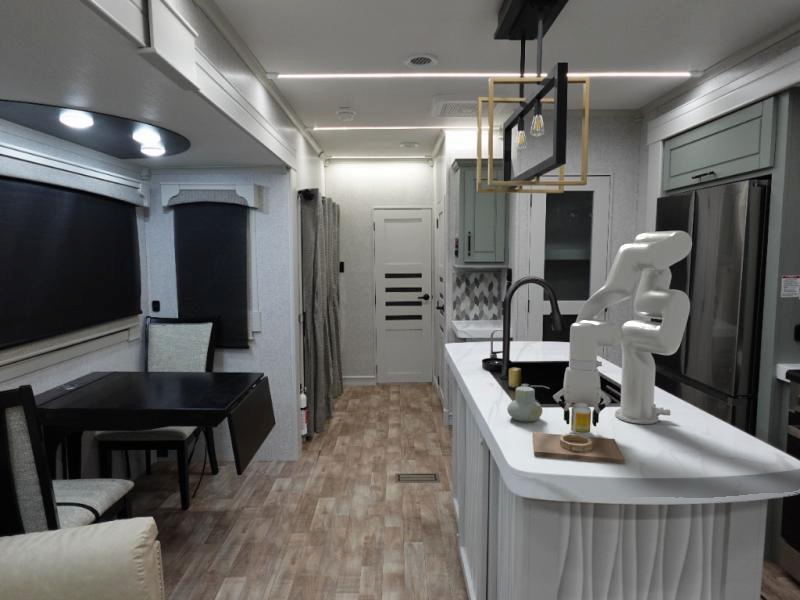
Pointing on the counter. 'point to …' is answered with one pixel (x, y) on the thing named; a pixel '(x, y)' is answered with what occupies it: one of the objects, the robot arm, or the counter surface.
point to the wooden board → (577, 447)
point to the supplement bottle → (581, 419)
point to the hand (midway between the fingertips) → (580, 423)
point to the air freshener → (525, 405)
